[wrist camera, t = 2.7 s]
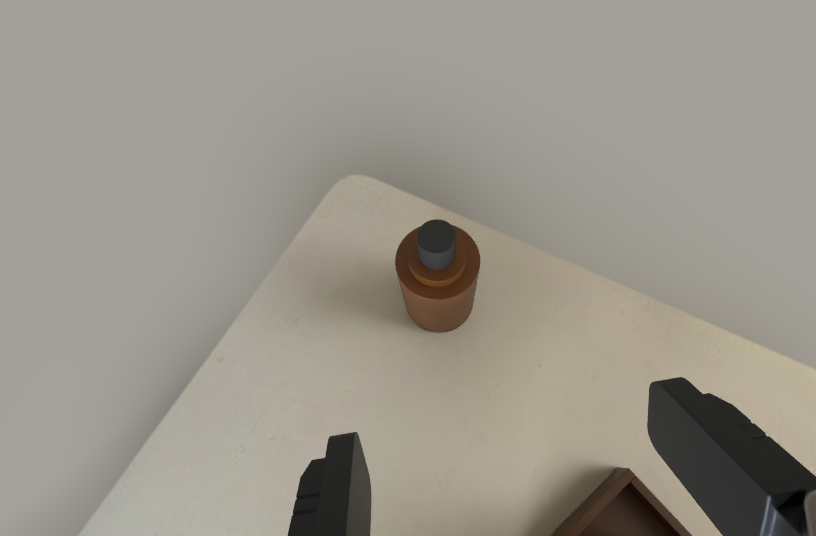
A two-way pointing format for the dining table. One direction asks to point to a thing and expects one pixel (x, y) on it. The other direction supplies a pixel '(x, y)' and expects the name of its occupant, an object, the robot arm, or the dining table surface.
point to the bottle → (438, 275)
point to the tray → (621, 511)
